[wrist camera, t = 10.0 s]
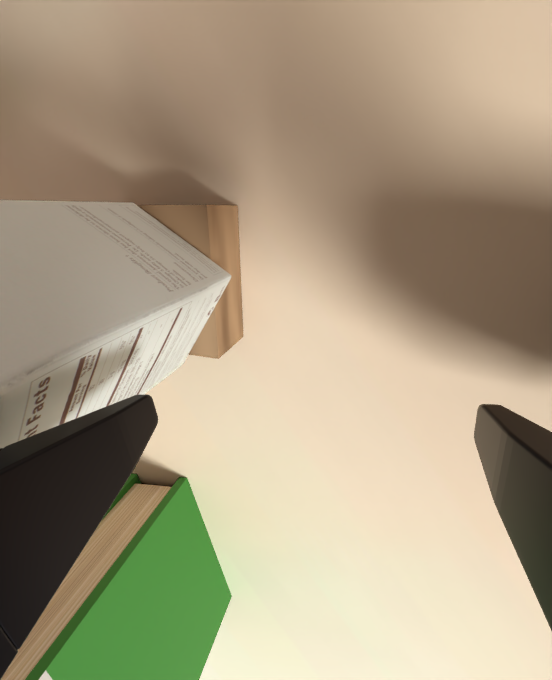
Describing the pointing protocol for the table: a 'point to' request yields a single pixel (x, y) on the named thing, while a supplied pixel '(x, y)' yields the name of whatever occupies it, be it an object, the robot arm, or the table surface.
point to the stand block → (223, 249)
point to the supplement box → (92, 308)
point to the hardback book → (133, 596)
